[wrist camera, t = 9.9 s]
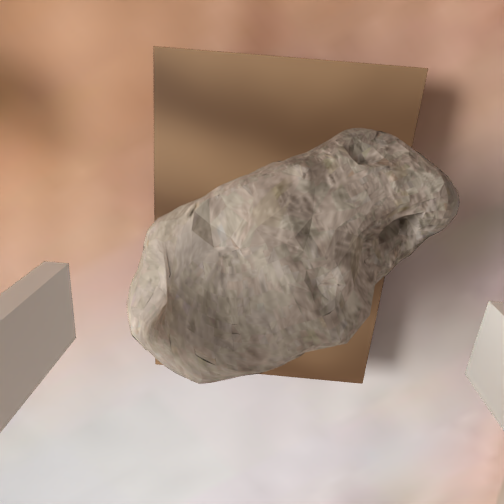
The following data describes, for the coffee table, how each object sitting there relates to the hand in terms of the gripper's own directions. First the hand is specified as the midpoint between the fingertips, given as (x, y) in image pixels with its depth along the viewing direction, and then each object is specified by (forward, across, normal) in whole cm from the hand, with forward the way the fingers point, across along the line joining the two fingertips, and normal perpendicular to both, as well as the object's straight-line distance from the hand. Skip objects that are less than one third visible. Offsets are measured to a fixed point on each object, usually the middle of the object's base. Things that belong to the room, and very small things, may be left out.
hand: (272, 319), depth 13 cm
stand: (+13, 0, -1) cm, 13 cm away
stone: (+10, 0, 0) cm, 10 cm away
